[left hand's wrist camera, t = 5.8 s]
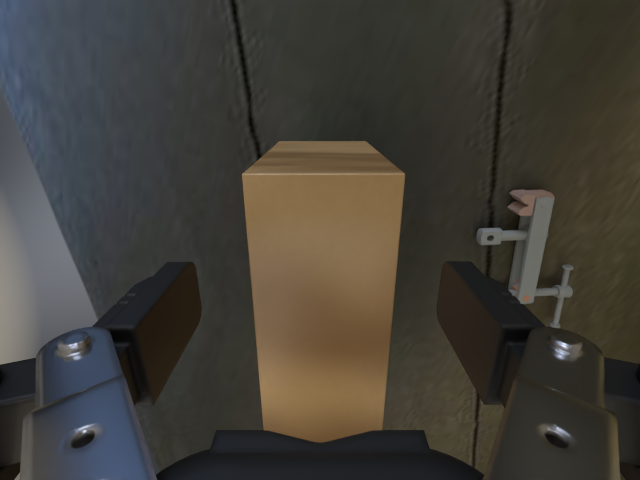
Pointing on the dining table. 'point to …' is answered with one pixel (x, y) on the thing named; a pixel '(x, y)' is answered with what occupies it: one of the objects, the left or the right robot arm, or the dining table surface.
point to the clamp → (529, 248)
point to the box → (323, 284)
